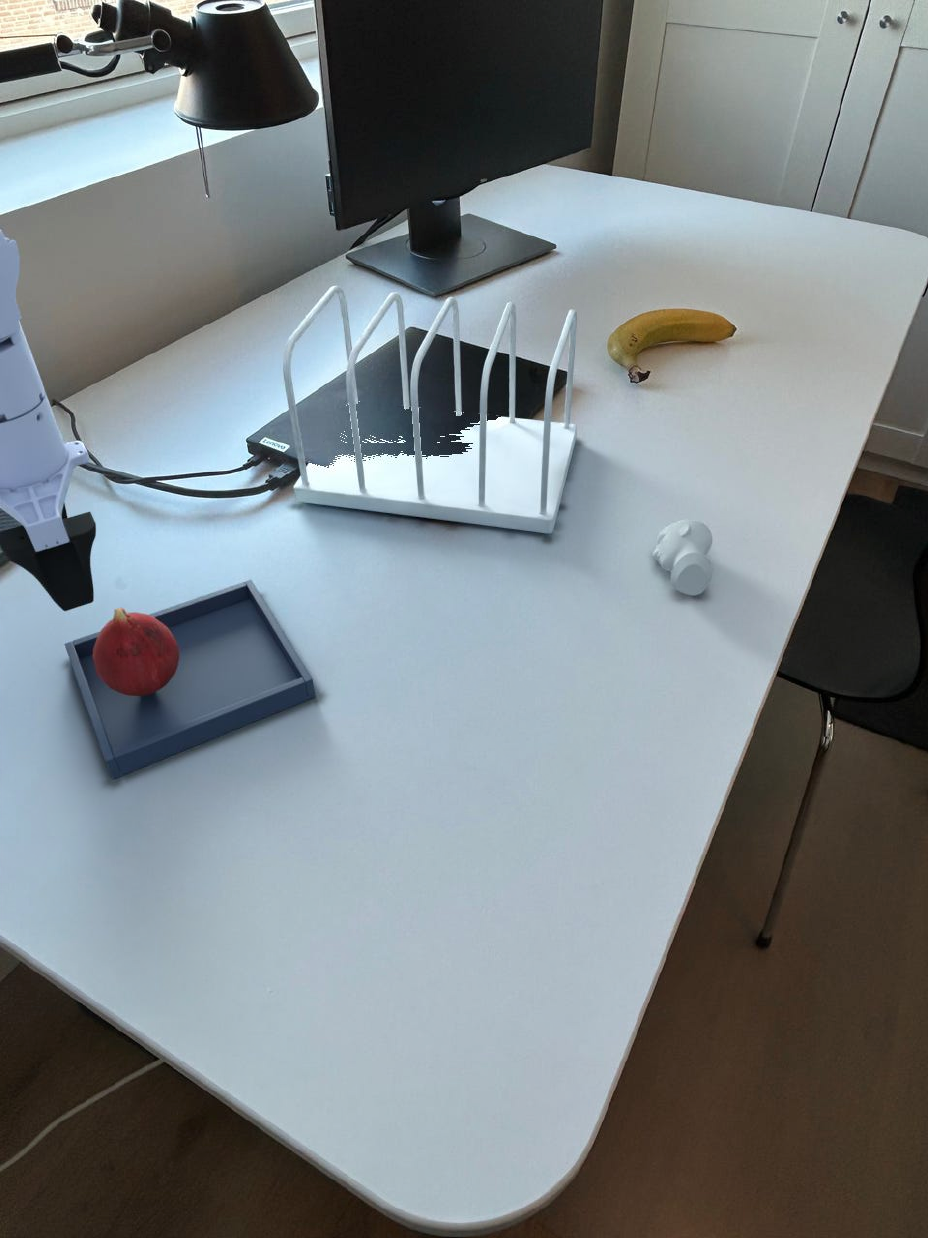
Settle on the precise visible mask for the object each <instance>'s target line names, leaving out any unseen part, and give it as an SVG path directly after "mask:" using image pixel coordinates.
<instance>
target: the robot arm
mask: <svg viewBox="0 0 928 1238" xmlns="http://www.w3.org/2000/svg"><path fill="white" fill-rule="evenodd" d="M20 271H21V258H20V251H19V247H18V242H17V240H15V239H10V238H8V237H6V236H5V233H4V232H3V229H2V228H1V227H0V509H1V510H2V511H4V512H5V514H8V515H9V516H10V517H11V518H13V519H14V520H16V521H17V522H18V523H19V524H20V525H18V526H15V527H11V528H8V529H4V530H1V531H0V549H1V551H2V553H3V555H4V556H5V557H6V558H7V559H8V560H9V561H10V562H11V563H14V564H15V565H18V566H19V567H21V568H22V569H24V570H25V571H27V572H28V573H29V574H30V575H32V576H33V577H34V578H35V579H36V580H37V581H38V582H39V584H40V585H41V586H42V588H43V589H44V590H45V592H46V593H47V594H48V595H49V596H50V598H51V599H52V600H53V602H54V603H55V604H56V605H57V606H58V607H59V609H61V610H62V611H63V612H68V611H70V610H74V609H76V608H81V607H83V606H86V605H88V604H91V603H93V602H94V595H95V592H94V582H93V575H92V566H91V565H92V564H91V555H92V548H93V544H94V542H95V539H96V536H97V523H96V521H95V519H94V517H93V514H92V512H91V511H87V512H83V513H80V514H76V515H73V516H70V517H68V513H67V508H66V503H65V502H66V497H67V493H68V490H69V487H70V484H71V479H72V475H73V472H74V469H75V468H76V467H78V466H81V465H85V464H87V463H88V462H90V456H89V452H88V450H87V448H86V446H85V443H84V442H83V441H81V440H74V441H70V442H65V441H64V439H63V436H62V434H61V431H60V428H59V425H58V422H57V420H56V418H55V414H54V412H53V409H52V407H51V404H50V401H49V397H48V396H47V392H46V390H45V387H44V384H43V381H42V379H41V376H40V373H39V371H38V368H37V365H36V362H35V358H34V356H33V353H32V350H31V349H30V345H29V343H28V340H27V337H26V334H25V331H24V330H23V327H22V323H21V321H20V320H22V319H23V317H22V316H23V315H22V314H21V311H20V307H19V305H18V301H17V297H16V296H17V295H16V291H17V286H18V282H19V277H20Z"/></svg>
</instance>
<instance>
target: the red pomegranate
mask: <svg viewBox="0 0 928 1238" xmlns="http://www.w3.org/2000/svg"><path fill="white" fill-rule="evenodd" d="M98 632H99V635H98V637H97V640H96V643H95V646H94V648H93V659H94V664H95V668H96V672H97V675H98V676H99V677H100V678H101V679H102V681H103V682H104V683H106V684H107V685H108V686H109V687H110V688H111V689H113V690H115V691H117V692H119V693H122V694H124V695H127V696H145V695H149V694H153V693H154V692H156V691H158V690H160V689H161V688H163V687H164V686H165V685H166V684H167V683H168V682H169V681H170V680H171V679H172V677H173V676H174V675H175V672H176V670H177V666H178V661H179V648H178V646H177V643H176V641H175V639H174V637H173V635H172V632H171V631H170V630H169V629H168V627H167V626H165V625H164V624H163V623H162V622H160V621H159V620H157V619H156V618H154V617H152V616H150V615H149V614H147V613H141V612H137V611H136V612H135V611H134V612H127V611H126V610H125V608H123V607H118V608H117V607H116V608H114V613H113V618H111V620H109V621H108V622H107V623H106V624H105V625H104V626H103V627H102V628H101V629H100V631H98Z"/></svg>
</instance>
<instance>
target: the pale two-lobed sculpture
mask: <svg viewBox="0 0 928 1238" xmlns="http://www.w3.org/2000/svg"><path fill="white" fill-rule="evenodd" d="M712 545H713V534H712V531H711V529H710V528H709V526H707V524H705V523H704V522H702V521H700V520H697V519H691V518H689V519H681V520H678V521H675V522H672V523H671V524H669V525H667V526H666V527H664V528H663V529H662V530H661V531H660V532H659V534H658V536H657V538H656V547H655V548H654V550H653V551H652V559H653V560H654V561H656V562H658V563H659V565H660V566H661V568H662V570H664V571H667V572H670V583H671V585H672V587H673V588H674V589H675V590H676V591H678V592H680V593H682V594H685V595H688V596H699V595H700V594H702V593H703V592H704V591H705V590H706V589H707V588H708V587H709V585H710V583H711V580H712V577H713V566H712V564H711V561H709V559H708V558H707V557H706V556H707V554H708V553H709V552H710V549H711V548H712Z"/></svg>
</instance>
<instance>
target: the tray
mask: <svg viewBox="0 0 928 1238" xmlns="http://www.w3.org/2000/svg"><path fill="white" fill-rule="evenodd" d="M148 615H150V616H152V617H154V618H156V619H157V620H159V621H160V622H162V623H163V624H164V625H165V626H167V627H168V629H169V630H170V631H171V632H172V635H173V637H174V639H175V641H176V643H177V646H178V648H179V661H178V666H177V670H176V672H175V675H174V676H173V677H172V679H171V680H170V681H169V682H168V683H167V684H166V685H165V686H164V687H163V688H161V689H160V690H158V691H156V692H154V693H153V694H149V695H145V696H127V695H124V694H122V693H119V692H117V691H115V690H113V689H111V688H110V687H109V686H108V685H107V684H106V683H104V682H103V681H102V679H101V678H100V677H99V676H98V675H97V672H96V668H95V664H94V659H93V648H94V646H95V643H96V640H97V637H98V635H99V632H100V631H97V632H94V633H92V634H89V635H86V636H85V635H84V636H83V637H80V638H77V639H73V640H72V641H68V642H65V643H64V647H65V651H66V653H67V656H68V660H69V661H70V664H71V667H72V670H73V672H74V675H75V679H76V681H77V684H78V687H79V690H80V693H81V695H82V699H83V702H84V704H85V707H86V710H87V713H88V716H89V719H90V721H91V725H92V727H93V731H94V733H95V737H96V739H97V741H98V744H99V748H100V750H101V753H102V756H103V759H104V762H105V763H106V766H107V768H108V771H109V772H110V775H111V777H112V779H116V778H119V777H121V776H124V775H127V774H129V773H132V772H134V771H136V770H139V769H142V768H144V767H146V766H149V765H151V764H154V763H156V762H159V761H161V760H164V759H167V758H168V757H171V756H173V755H176V754H178V753H181V752H183V751H186V750H188V749H190V748H193V747H196V746H197V745H200V744H203V743H206V742H208V741H210V740H213V739H216V738H218V737H220V736H222V735H223V736H224V735H225V734H227V733H230V732H232V731H234V730H237V729H240V728H242V727H244V726H247V725H250V724H253V723H254V722H257V721H259V720H262V719H265V718H267V717H269V716H271V715H274V714H277V713H280V712H282V711H283V710H287V709H290V708H291V707H294V706H296V705H299V704H302V703H304V702H307V701H309V700H311V699H313V698H316V695H317V694H316V689H315V684H314V678H313V677H312V676H311V674H310V672H309V671H308V669H307V668H306V667H307V666H306V665H305V664H304V663H303V661H302V659H301V658H300V656H299V655H298V653H297V651H296V650H295V648H294V646H293V644H292V643H291V642H290V640H289V638H288V636H287V634H285V632H284V630H283V628H282V626H281V625H280V624H279V622H278V620H277V619H276V617H275V616H274V614H273V612H272V610H271V609H270V607H269V606H268V604H267V602H266V601H265V599H264V597H263V596H262V594H261V592H260V591H259V590H258V588H257V586H256V585H255V583H254V582H253V580H252V579H248V580H245V581H243V582H239V583H237V584H234V585H231V586H228V587H224V588H222V589H219V590H216V591H214V592H210V593H208V594H204V595H202V596H199V597H196V598H193V599H190V600H187V601H184V602H182V603H179V604H176V605H173V606H170V607H167V608H164V609H161V610H158V611H154V612H152V613H149V614H148Z"/></svg>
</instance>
